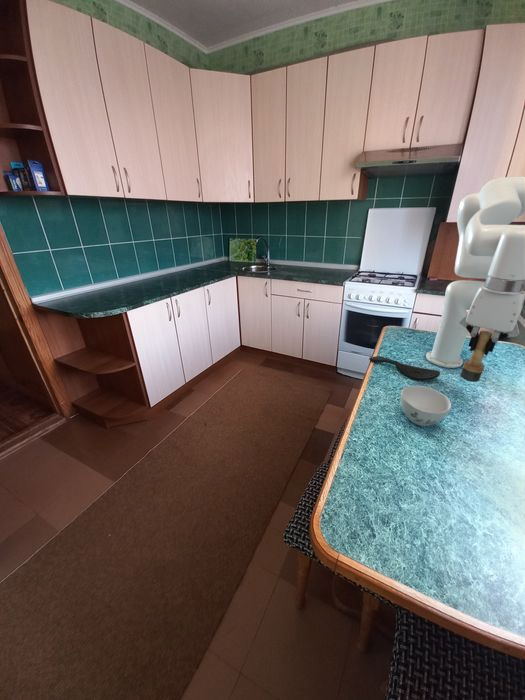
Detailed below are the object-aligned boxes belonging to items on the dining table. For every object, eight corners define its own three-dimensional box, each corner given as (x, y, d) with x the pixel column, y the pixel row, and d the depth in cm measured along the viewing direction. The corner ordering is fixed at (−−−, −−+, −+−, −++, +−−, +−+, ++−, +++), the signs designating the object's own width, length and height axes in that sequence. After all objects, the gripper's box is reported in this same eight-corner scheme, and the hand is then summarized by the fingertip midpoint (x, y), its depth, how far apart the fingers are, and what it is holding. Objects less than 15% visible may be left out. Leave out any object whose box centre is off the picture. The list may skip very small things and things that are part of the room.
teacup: (439, 441, 77) (447, 418, 73) (390, 422, 84) (396, 400, 80) (448, 412, 87) (456, 390, 84) (404, 397, 94) (409, 376, 91)
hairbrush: (374, 349, 118) (443, 366, 103) (373, 357, 120) (441, 375, 104) (365, 356, 113) (437, 376, 97) (364, 365, 115) (435, 385, 99)
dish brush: (459, 371, 85) (474, 328, 79) (477, 374, 83) (494, 330, 77) (461, 379, 81) (477, 334, 75) (480, 383, 80) (498, 337, 73)
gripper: (549, 286, 67) (519, 355, 76) (468, 276, 77) (449, 338, 86) (547, 294, 62) (514, 367, 71) (461, 281, 73) (441, 346, 81)
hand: (479, 350), depth 78 cm, fingers closed on dish brush, 2 cm apart
